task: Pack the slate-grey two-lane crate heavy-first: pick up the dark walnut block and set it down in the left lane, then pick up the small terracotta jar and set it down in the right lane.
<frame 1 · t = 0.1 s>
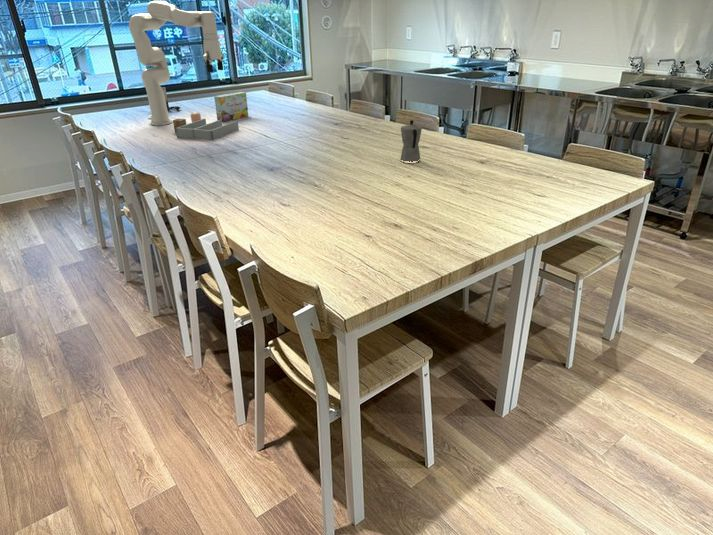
hand: (215, 71, 272), 31 cm above the table, fingers open, 9 cm apart
milk frother: (168, 110, 338), on the table
snack box: (233, 119, 309), on the table
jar: (197, 126, 291), on the table
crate: (201, 132, 277), on the table
walnut block: (181, 132, 279), on the table
coffeepot: (410, 162, 219), on the table
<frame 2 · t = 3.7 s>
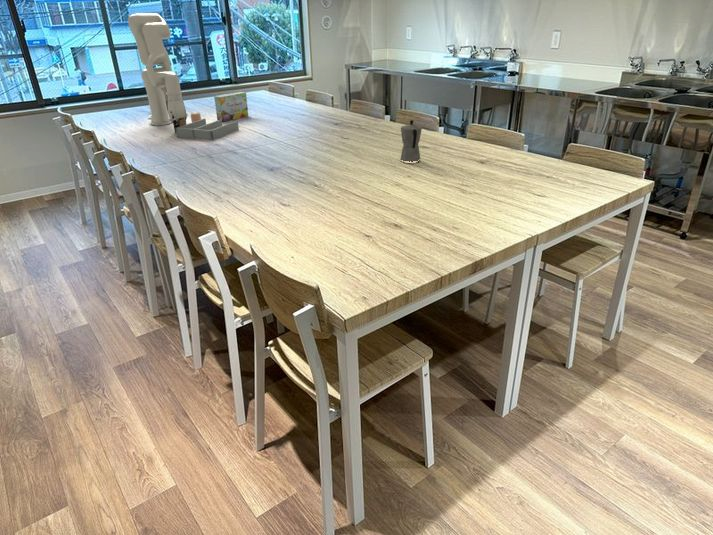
hand: (181, 130, 279), 1 cm above the table, fingers closed on walnut block, 5 cm apart
walnut block: (181, 132, 279), on the table, touching gripper
everything else where it was.
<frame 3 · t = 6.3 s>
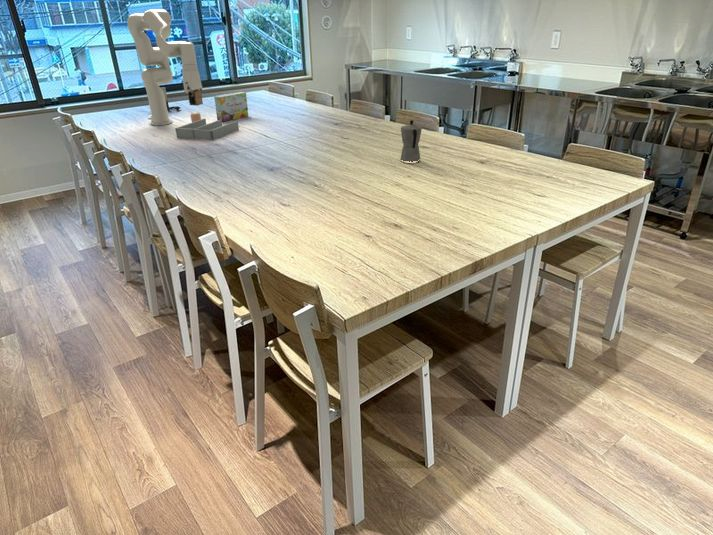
hand: (196, 102, 269), 16 cm above the table, fingers closed on walnut block, 5 cm apart
walnut block: (196, 104, 270), point 15 cm above the table, touching gripper
everything else where it was.
when the fingers open (3 cm above the table, at t = 9.0 s): walnut block drops 2 cm, resting in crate.
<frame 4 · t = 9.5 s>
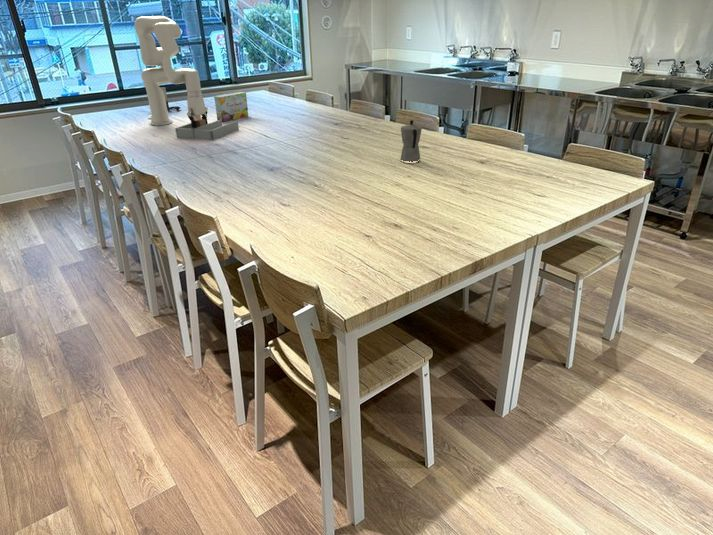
hand: (199, 125, 275), 4 cm above the table, fingers open, 9 cm apart
walnut block: (200, 132, 277), resting in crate
everything else where it was.
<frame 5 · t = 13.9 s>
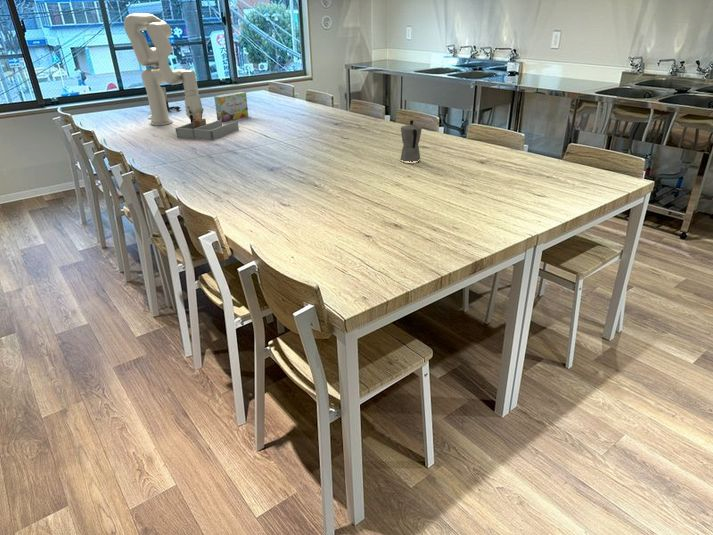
hand: (197, 124, 291), 1 cm above the table, fingers closed on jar, 5 cm apart
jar: (197, 126, 291), on the table, touching gripper
everything else where it was.
when the fingers open (3 cm above the table, at t = 20.5 s): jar drops 2 cm, resting in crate.
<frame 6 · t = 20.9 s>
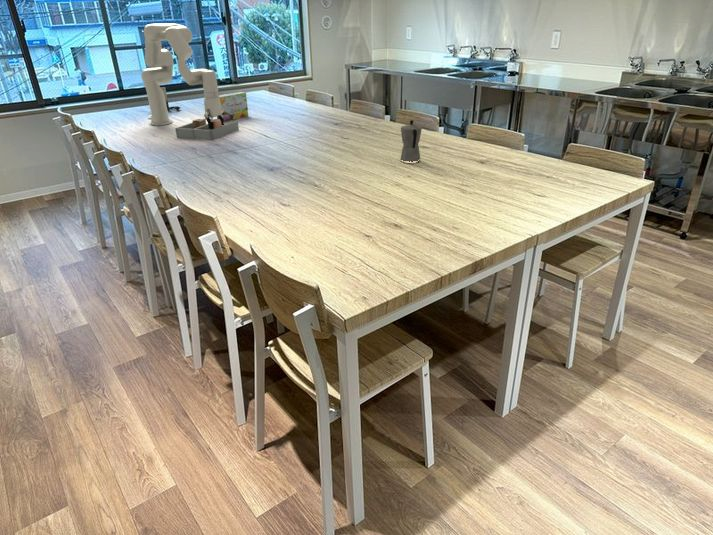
hand: (216, 127, 272), 4 cm above the table, fingers open, 9 cm apart
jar: (217, 133, 274), resting in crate
everything else where it was.
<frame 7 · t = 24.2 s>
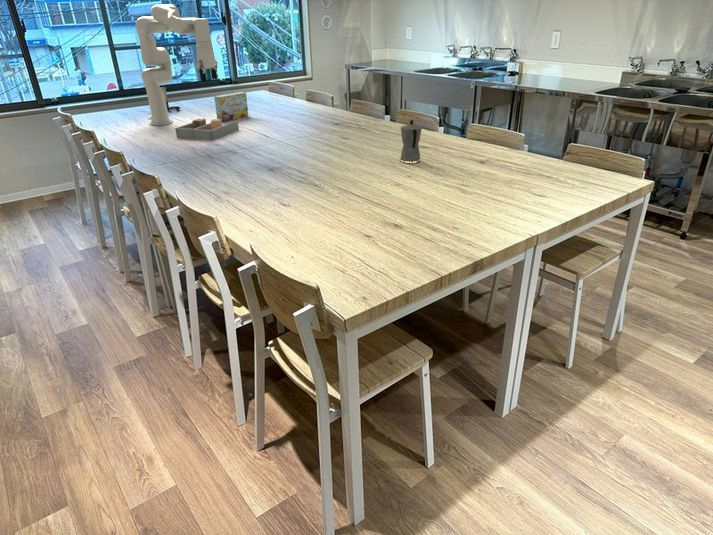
hand: (209, 80, 260), 28 cm above the table, fingers open, 9 cm apart
nothing on the table moved.
at the end: walnut block inside the target area (0.2 cm from its centre), resting in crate; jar inside the target area (0.1 cm from its centre), resting in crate; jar tilted 0° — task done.
